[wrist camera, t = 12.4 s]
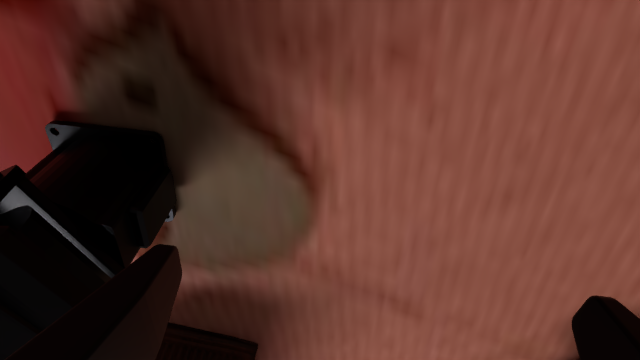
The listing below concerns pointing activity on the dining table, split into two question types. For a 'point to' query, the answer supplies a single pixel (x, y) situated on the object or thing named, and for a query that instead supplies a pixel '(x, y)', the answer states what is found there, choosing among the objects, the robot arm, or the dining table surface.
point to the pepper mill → (202, 345)
